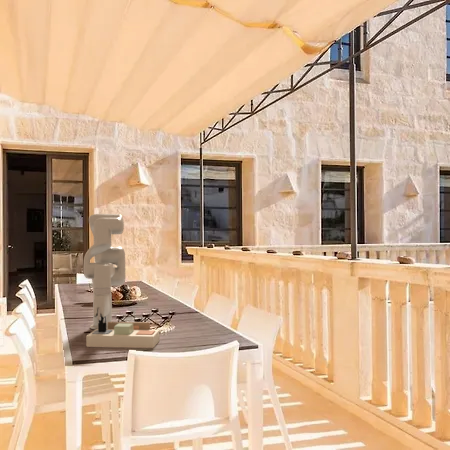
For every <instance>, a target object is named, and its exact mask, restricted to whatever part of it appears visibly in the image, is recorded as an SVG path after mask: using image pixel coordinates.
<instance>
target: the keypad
mask: <svg viewBox="0 0 450 450" xmlns="http://www.w3.org/2000/svg"><path fill="white" fill-rule="evenodd" d="M118 323H129V324H133V333H131V334H130V335H125V334H114V326H115V325H117V324H118ZM96 330H98V329H93V331H91V332H90V333H88V334H87V335H86V340H85V341H86V342H85V343H86V344H85V345H86V347H87V348H89V347H90V348H129V349H130V348H135V349H137V348H139V349H141V348H143V349H146V348H147V349H154V348H155V347H156V346H157V344H158V343H159V342H160V331H161V330H160V329H151V322H149V321H146V322H145V321H112V322H108V329H106V330H112V332H110V333H109V334H92V333H93V332H95V331H96ZM140 330H143V331H155V333H154V334H153V335H136V333H138V332H139V331H140Z"/></svg>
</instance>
